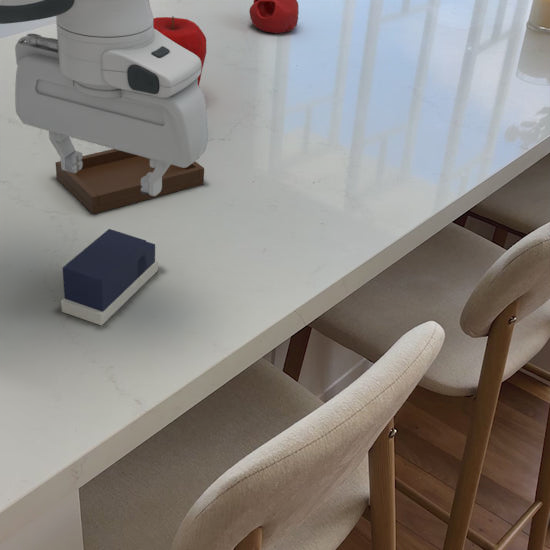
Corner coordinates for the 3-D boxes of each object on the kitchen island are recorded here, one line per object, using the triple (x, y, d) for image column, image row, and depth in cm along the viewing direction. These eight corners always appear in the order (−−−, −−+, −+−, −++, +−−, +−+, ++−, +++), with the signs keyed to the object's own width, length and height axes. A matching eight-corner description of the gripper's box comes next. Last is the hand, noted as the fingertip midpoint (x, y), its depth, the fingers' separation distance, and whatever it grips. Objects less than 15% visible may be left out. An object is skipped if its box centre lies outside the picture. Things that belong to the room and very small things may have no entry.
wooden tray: (93, 214, 112) (92, 197, 111) (56, 178, 119) (55, 162, 117) (203, 184, 121) (204, 168, 119) (163, 152, 127) (164, 137, 126)
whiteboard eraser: (101, 326, 94) (99, 283, 90) (61, 311, 95) (58, 269, 92) (158, 270, 103) (158, 230, 100) (120, 258, 104) (120, 218, 101)
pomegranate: (285, 18, 181) (289, -29, 176) (306, 35, 174) (311, -13, 168) (240, 21, 177) (243, -27, 172) (259, 38, 170) (263, -11, 165)
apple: (125, 98, 142) (123, 14, 134) (168, 81, 149) (170, 1, 141) (173, 118, 137) (175, 33, 129) (216, 100, 144) (220, 18, 136)
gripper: (-7, 38, 84) (8, 168, 92) (185, 85, 78) (183, 220, 86) (34, 20, 89) (44, 145, 97) (217, 63, 83) (212, 192, 91)
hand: (111, 181), depth 91 cm, fingers open, 8 cm apart
